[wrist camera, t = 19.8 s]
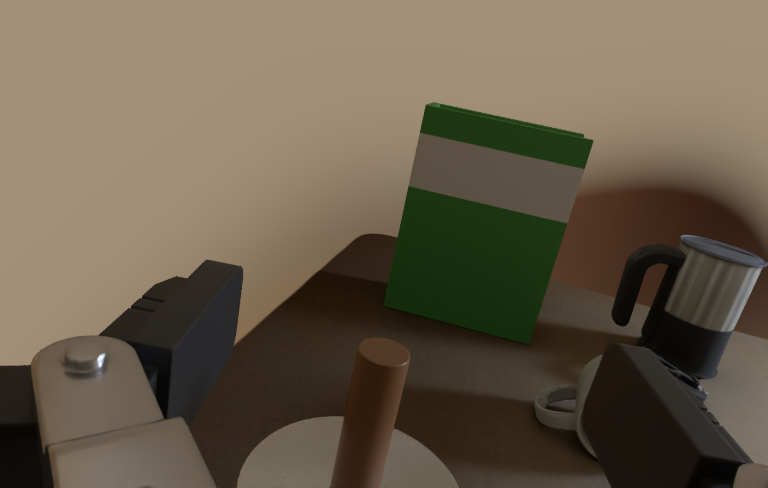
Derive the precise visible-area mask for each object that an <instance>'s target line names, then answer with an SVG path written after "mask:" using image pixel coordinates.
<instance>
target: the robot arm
mask: <svg viewBox="0 0 768 488" xmlns="http://www.w3.org/2000/svg"><path fill="white" fill-rule="evenodd" d="M242 282H243V269H242V267H241V266H237V265H231V264H227V263H222V262H216V261H212V260H205V262H203V263H202V264H201V265H200V266H199V267H198V268H197V269H196V270H195V271H194V272H193V273H192V274H191V275H190V276H189V277H188V278H182V277H177V276H176V277H173V278H171V279H168V280H165V281H163V282H160V283H158V284H155V285H154V286H153V287H152V288H151V289H149V290H148V291H147V292H146V293H145V294H144V295H143V296H142V299H138V300H137V301H136V302H135V303H134V304H133V305H132V306H131V309H130V308H128V309H127V310H126V311H125V312H124V313H123V314H122V315H120V316H119V318H117V319H116V320H115V321H114V322H113V323H112V324H110V325H109V326H108V327H107V328H106V329H105V330H104V331H103V332H102V333H100V334H99V335H98V336H79V337H73V338H68V339H64V340H61V341H58V342H55V343H53V344H51V345H49V346H47V347H45V348H43V349H42V350H40V351H39V352H38V353H37V354H36V355H35V357H34V358H33V360H32V362H31V365H24V366H0V488H216V486H215V484H214V481H213V479H212V477H211V475H210V473H209V471H208V469H207V466H206V464H205V462H204V460H203V458H202V456H201V454H200V452H199V449H198V447H197V445H196V443H195V441H194V439H193V437H192V434H191V432H190V430H189V428H188V427H189V426H190V424H191V422H192V421H193V419H194V417H195V415H196V414H197V412H198V410H199V409H200V407H201V405H202V404H203V402H204V400H205V399H206V397H207V395H208V393H209V392H210V390H211V388H212V387H213V385H214V383H215V382H216V380H217V378H218V377H219V375H220V373H221V372H222V370H223V368H224V366H225V365H226V363H227V361H228V359H229V357H230V355H231V352H232V349H233V345H234V341H235V337H236V331H237V323H238V315H239V306H240V297H241V290H242ZM583 427H584V431H585V433H586V435H587V438H588V440H589V442H590V444H591V446H592V448H593V450H594V452H595V454H596V456H597V458H598V461H599V463H600V465H601V467H602V469H603V471H604V473H605V475H606V477H607V479H608V481H609V484H610V486H611V488H768V466H766V465H761V464H755V463H754V462H753V461H752V460H751V459H750V458H749V457H748V455H747V454H746V453H745V452H744V451H743V450H742V448H741V447H740V446H739V445H738V444H737V443H736V441H735V440H734V439H733V438H732V437H731V436H730V435H729V433H728V432H727V431H726V430H725V429H724V428H723V426H719V422H718V421H717V419H716V418H715V417H714V416H713V415H712V414H711V412H707V408H706V407H705V405H704V404H703V403H702V402H701V401H700V400H699V399H698V397H697V396H696V395H695V394H694V393H693V392H692V391H691V390H690V389H688V388H687V387H685V386H684V385H683V384H681V383H680V382H679V381H677V380H676V379H675V378H674V377H673V376H672V374H671V373H670V372H669V371H668V370H667V368H666V367H665V366H664V365H663V364H662V363H661V361H660V360H659V359H658V358H657V357H656V355H655V354H654V353H653V352H652V351H651V350H650V349H647V348H642V347H637V346H632V345H627V344H622V343H617V342H612V343H610V344H609V345H608V346H607V347H606V349H605V351H604V353H603V356H602V358H601V361H600V364H599V366H598V369H597V372H596V374H595V377H594V379H593V382H592V385H591V387H590V390H589V392H588V395H587V398H586V400H585V403H584V407H583Z"/></svg>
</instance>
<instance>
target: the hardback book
mask: <svg viewBox="0 0 768 488" xmlns="http://www.w3.org/2000/svg"><path fill="white" fill-rule="evenodd" d="M583 137H584V135H583V134H580V133H575V132H571V131H566V130H561V129H557V128H552V127H547V126H542V125H537V124H532V123H528V122H523V121H519V120H514V119H510V118H505V117H500V116H495V115H491V114H486V113H481V112H477V111H472V110H467V109H462V108H458V107H453V106H448V105H444V104H439V103H434V102H433V103H430V104H427V105H426V107H425V112H424V116H423V121H422V125H421V130H420V135H419V139H418V145H417V149H416V154H415V158H414V163H413V168H412V172H411V177H410V182H409V187H408V191H407V196H406V201H405V206H404V210H403V215H402V220H401V224H400V230H399V234H398V238H397V243H396V248H395V253H394V257H393V262H392V267H391V271H390V276H389V281H388V286H387V290H386V295H385V300H384V304H383V306H386V307H390V308H394V309H398V310H401V311H405V312H409V313H412V314H416V315H420V316H424V317H427V318H431V319H435V320H439V321H442V322H446V323H450V324H454V325H457V326H461V327H465V328H468V329H472V330H476V331H480V332H483V333H487V334H491V335H495V336H498V337H502V338H506V339H509V340H513V341H517V342H521V343H524V344H528V345H529V343H530V340H531V336H532V333H533V330H534V327H535V324H536V321H537V317H538V314H539V311H540V308H541V305H542V302H543V299H544V295H545V292H546V289H547V286H548V283H549V280H550V276H551V273H552V270H553V267H554V263H555V261H556V258H557V254H558V251H559V248H560V245H561V242H562V239H563V235H564V232H565V229H566V226H567V223H568V220H569V217H570V213H571V210H572V207H573V204H574V201H575V197H576V194H577V191H578V188H579V185H580V182H581V179H582V175H583V172H584V169H585V166H586V163H587V159H588V157H589V153H590V150H591V147H592V144H593V140H591V139H586V138H583Z"/></svg>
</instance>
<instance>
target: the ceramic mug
mask: <svg viewBox="0 0 768 488" xmlns="http://www.w3.org/2000/svg"><path fill="white" fill-rule="evenodd" d="M602 356H603V354H602V355H600V356H598V357H595V358H593V359H592V360H591V361H590V362H588V363H587V365H586V366H585V367H584V368H583V370H582V372H581V374H580V376H579V379H578V382H577V383H576V384H567V385H557V386H552V387H549V388H547V389H544V390H543V391H541V392H540V393H539V394H538V395H537V396H536V398H535V401H534V407H535V412H536V417H537V419H538V420H539V421H540V422H541V423H542V424H544V425H546V426H548V427H550V428H555V429H562V430H573V431H576V432H577V436H578V438H579V440H580V441H581V443H582V445H583V446H584V447H585V449H586V450H587V451H588V452H589V453H590V454H591V455H593V456H594V457H595V458H597V456H596V454H595V452H594V450H593V448H592V446H591V444H590V442H589V440H588V438H587V435H586V433H585V431H584V427H583V407H584V403H585V400H586V398H587V395H588V392H589V390H590V387H591V385H592V382H593V379H594V377H595V374H596V372H597V369H598V366H599V364H600V361H601V358H602ZM572 399H576V407H575V412H573V413H565V412H555V411H551V410H548V409H545V408H546V407H547V406H548V404H549V403H552V402H557V401H561V400H572ZM597 459H598V458H597Z"/></svg>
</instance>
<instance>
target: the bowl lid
mask: <svg viewBox="0 0 768 488" xmlns="http://www.w3.org/2000/svg"><path fill="white" fill-rule="evenodd" d="M409 362H410V353H409V351H408V350H407V349H406V348H405V347H404V346H403V345H401V344H399V343H398V342H395V341H393V340H390V339H385V338H369V339H365V340H363V341H362V342H361V343H360V344H359V346H358V350H357V355H356V360H355V365H354V370H353V375H352V380H351V385H350V390H349V395H348V400H347V405H346V410H345V415H344V417H343V416H326V417H317V418H311V419H306V420H302V421H299V422H296V423H292V424H290V425H288V426H285V427H283V428H281V429H279V430H277V431H276V432H274V433H272V434H270V435H269V436H268V437H267V438H265V439H264V440H263V441H261V442H260V443H259V444H258V445H257V446H256V447H255V448H254V449H253V451H252V452H251V454H250V455H249V456H248V458H247V459H246V461H245V463H244V465H243V467H242V468H241V471H240V474H239V477H238V480H237V487H236V488H459V487H458V485H457V483H456V481H455V479H454V478H453V476H452V475H451V473H450V472H449V470H448V469H447V467H446V466H445V465H444V464H443V463H442V462H441V460H440V459H439V458H438V457H437V456H436V455H435V454H433V453H432V452H431V451H430V450H429V449H428V448H426V447H425V446H424V445H423V444H421V443H420V442H418V441H417V440H415V439H414V438H412V437H411V436H409V435H407V434H405V433H403V432H401V431H399V430H397V429H394V425H395V421H396V416H397V412H398V408H399V404H400V400H401V395H402V391H403V387H404V383H405V379H406V374H407V370H408V366H409Z"/></svg>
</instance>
